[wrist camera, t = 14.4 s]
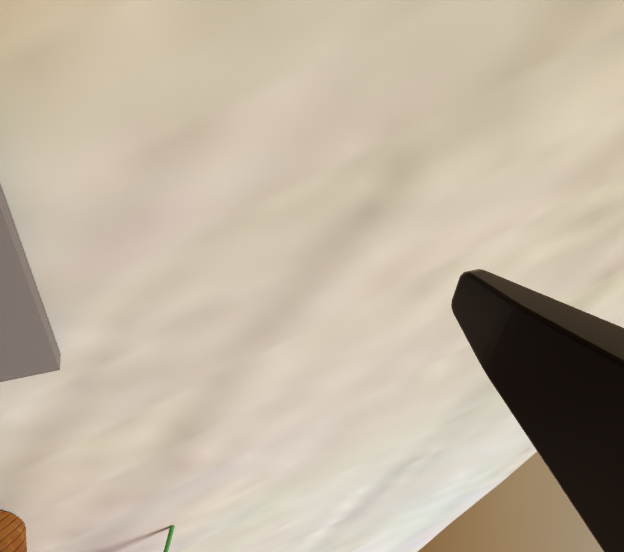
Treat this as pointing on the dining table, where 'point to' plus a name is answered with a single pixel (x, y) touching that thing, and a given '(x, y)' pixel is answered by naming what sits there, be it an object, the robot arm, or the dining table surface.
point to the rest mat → (21, 310)
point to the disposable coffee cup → (12, 533)
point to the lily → (169, 539)
